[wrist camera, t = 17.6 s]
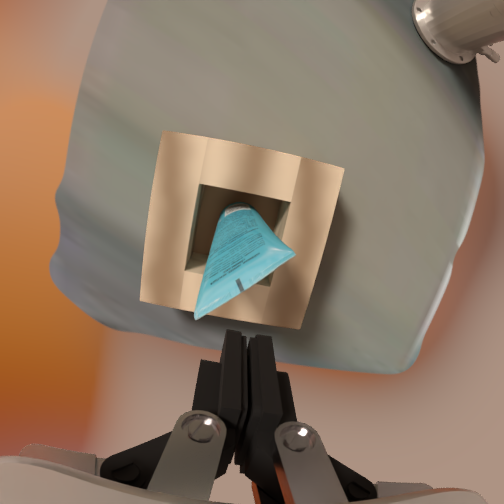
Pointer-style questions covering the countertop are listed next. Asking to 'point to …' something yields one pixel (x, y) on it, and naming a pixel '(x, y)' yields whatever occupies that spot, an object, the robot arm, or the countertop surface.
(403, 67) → the countertop surface
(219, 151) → the socket block
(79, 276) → the countertop surface
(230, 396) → the robot arm
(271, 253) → the tube
